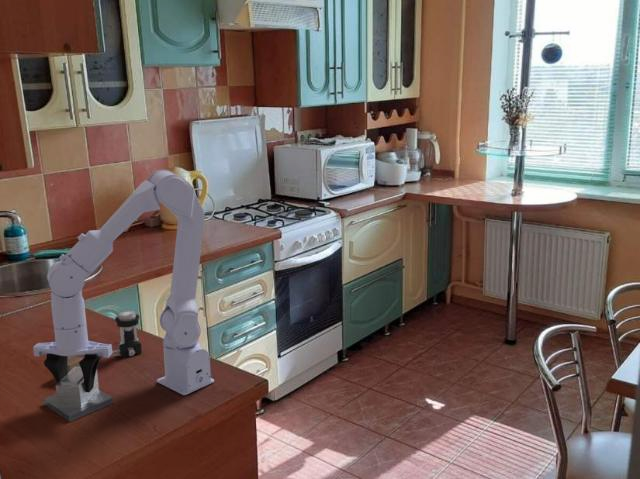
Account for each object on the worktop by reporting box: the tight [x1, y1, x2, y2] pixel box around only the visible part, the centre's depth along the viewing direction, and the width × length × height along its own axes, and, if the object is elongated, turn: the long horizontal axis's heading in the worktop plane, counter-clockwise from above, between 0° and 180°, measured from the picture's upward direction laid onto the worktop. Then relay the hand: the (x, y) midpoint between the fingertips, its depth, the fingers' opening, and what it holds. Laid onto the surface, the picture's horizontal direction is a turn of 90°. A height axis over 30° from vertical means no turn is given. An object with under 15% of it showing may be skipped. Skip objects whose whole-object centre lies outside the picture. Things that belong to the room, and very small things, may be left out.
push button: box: [111, 310, 143, 358], centre depth 139 cm, size 7×5×10 cm
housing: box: [55, 367, 100, 408], centre depth 118 cm, size 8×4×5 cm, turn 177°
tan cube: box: [67, 356, 84, 373], centre depth 129 cm, size 4×4×4 cm
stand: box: [43, 388, 114, 423], centre depth 118 cm, size 10×9×1 cm
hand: (77, 389), depth 117 cm, fingers closed on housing, 4 cm apart
